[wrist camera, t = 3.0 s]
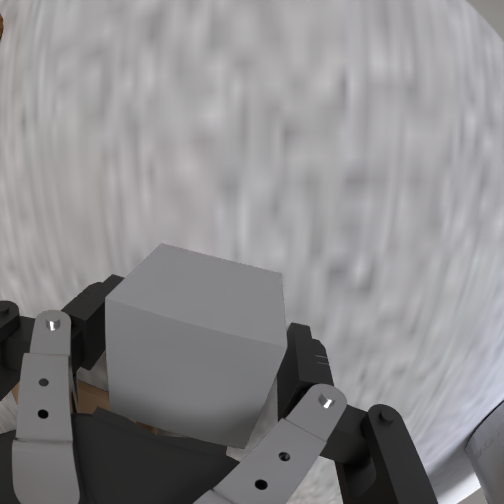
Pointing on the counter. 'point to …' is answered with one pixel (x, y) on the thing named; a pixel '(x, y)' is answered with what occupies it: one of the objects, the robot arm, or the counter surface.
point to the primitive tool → (1, 26)
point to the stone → (194, 344)
